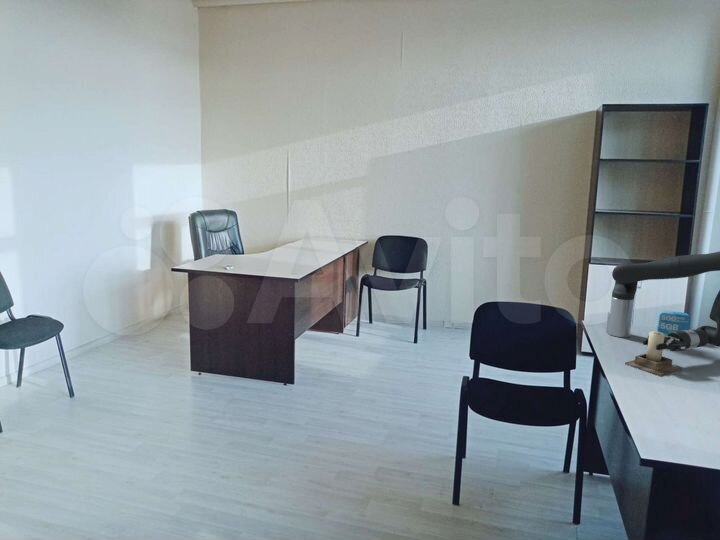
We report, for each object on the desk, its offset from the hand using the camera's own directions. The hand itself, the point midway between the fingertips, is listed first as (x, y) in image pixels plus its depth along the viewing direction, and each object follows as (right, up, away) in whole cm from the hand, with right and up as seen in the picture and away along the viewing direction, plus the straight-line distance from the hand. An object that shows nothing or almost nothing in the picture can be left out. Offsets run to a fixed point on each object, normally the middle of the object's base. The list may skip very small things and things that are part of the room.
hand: (650, 344), depth 213 cm
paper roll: (+2, -6, +2) cm, 7 cm away
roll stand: (+2, -9, +3) cm, 10 cm away
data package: (+29, -2, +38) cm, 47 cm away
